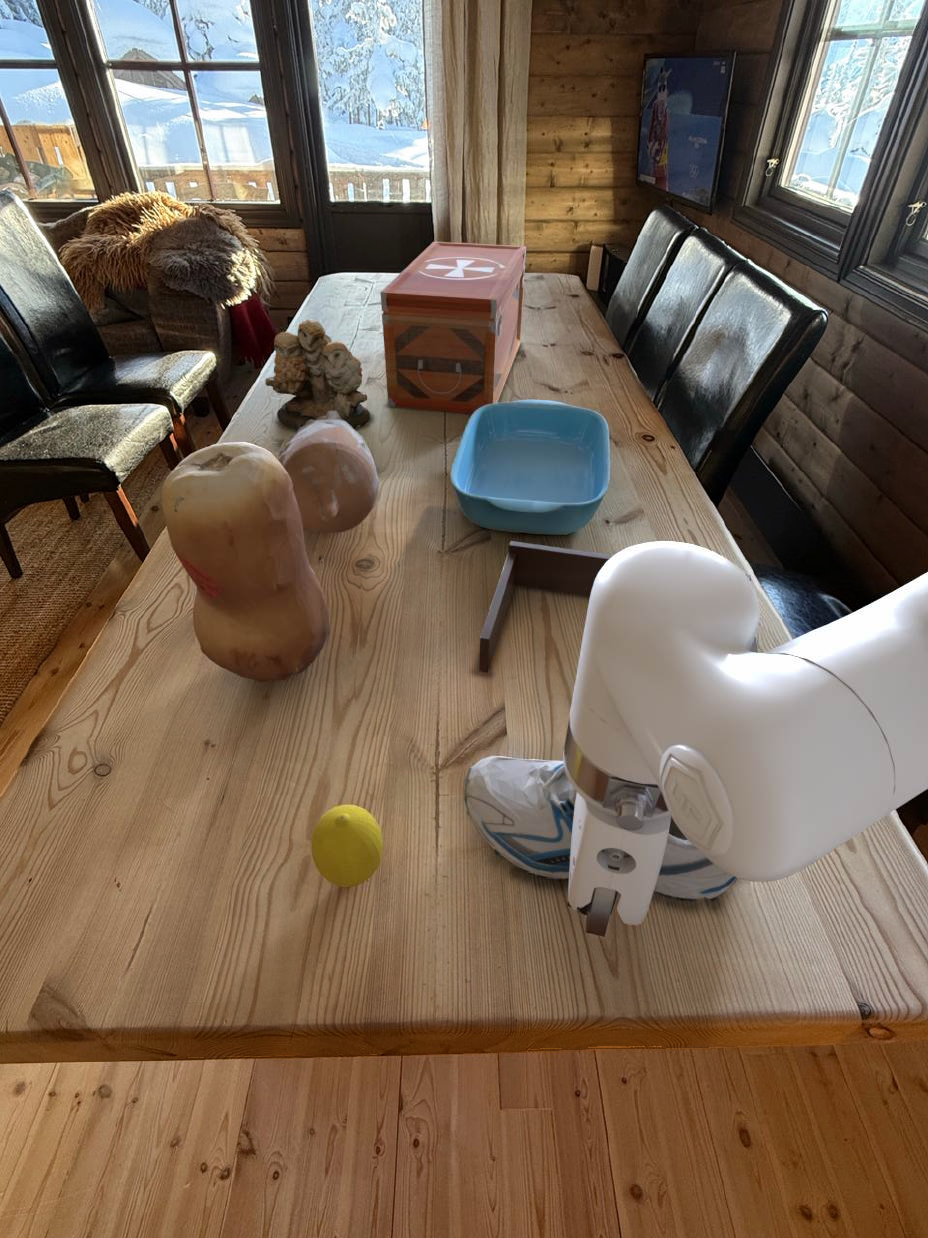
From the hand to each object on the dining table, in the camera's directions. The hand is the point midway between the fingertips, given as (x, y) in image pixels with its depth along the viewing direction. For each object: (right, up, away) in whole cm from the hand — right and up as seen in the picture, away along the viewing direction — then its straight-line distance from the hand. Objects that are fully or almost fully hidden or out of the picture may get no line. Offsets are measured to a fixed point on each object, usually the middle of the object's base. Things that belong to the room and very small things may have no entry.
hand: (589, 901), depth 49 cm
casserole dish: (+1, +41, +53) cm, 67 cm away
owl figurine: (-35, +57, +71) cm, 98 cm away
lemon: (-18, 0, +5) cm, 19 cm away
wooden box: (-10, +73, +89) cm, 116 cm away
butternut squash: (-30, +16, +24) cm, 42 cm away
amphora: (-28, +37, +48) cm, 67 cm away
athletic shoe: (+2, +2, +8) cm, 8 cm away
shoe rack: (+8, +18, +26) cm, 33 cm away
